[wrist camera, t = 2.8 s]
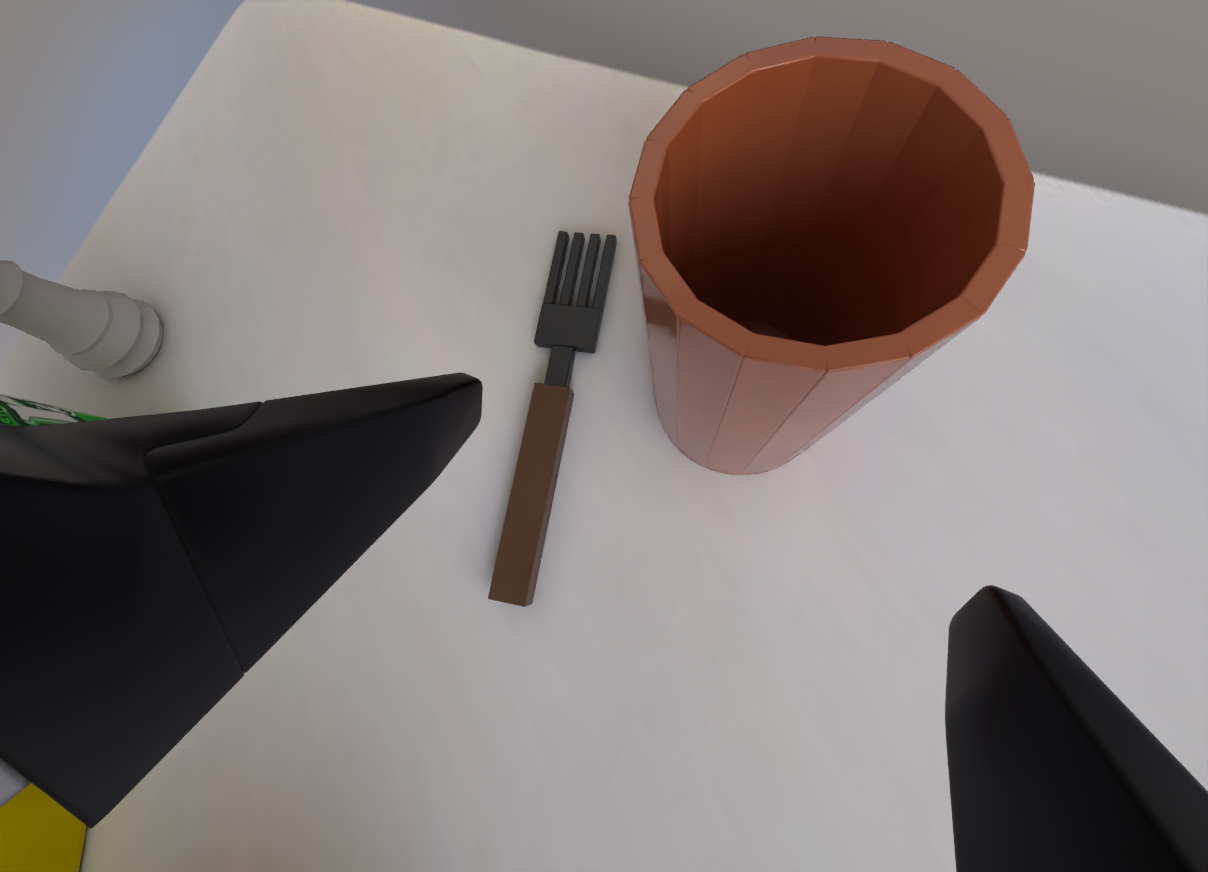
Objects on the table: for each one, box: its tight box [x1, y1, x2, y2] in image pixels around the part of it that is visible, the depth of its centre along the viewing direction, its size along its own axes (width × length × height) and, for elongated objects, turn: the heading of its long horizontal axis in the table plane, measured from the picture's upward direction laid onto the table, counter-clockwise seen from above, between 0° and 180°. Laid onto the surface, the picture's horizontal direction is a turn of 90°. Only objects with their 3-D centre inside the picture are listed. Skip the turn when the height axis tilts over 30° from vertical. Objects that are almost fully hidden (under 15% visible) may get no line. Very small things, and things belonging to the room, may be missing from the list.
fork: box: [488, 231, 617, 607], centre depth 22 cm, size 17×3×1 cm, turn 169°
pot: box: [628, 37, 1035, 475], centre depth 15 cm, size 7×7×12 cm
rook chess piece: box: [0, 261, 163, 378], centre depth 23 cm, size 4×4×8 cm
